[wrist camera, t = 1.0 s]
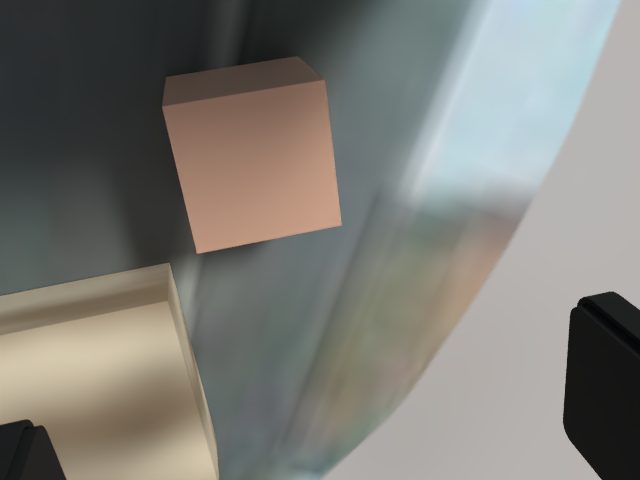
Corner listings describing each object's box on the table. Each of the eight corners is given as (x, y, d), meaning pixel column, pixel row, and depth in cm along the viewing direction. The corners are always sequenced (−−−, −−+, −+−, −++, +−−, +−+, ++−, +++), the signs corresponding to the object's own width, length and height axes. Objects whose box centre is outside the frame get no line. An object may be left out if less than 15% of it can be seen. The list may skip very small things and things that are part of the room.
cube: (165, 76, 25) (161, 106, 20) (297, 55, 25) (325, 79, 20) (194, 200, 27) (197, 253, 22) (313, 177, 28) (341, 225, 23)
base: (-82, 312, 27) (-117, 359, 23) (169, 262, 28) (167, 300, 25) (6, 487, 32) (-13, 545, 28) (215, 437, 33) (219, 487, 30)
